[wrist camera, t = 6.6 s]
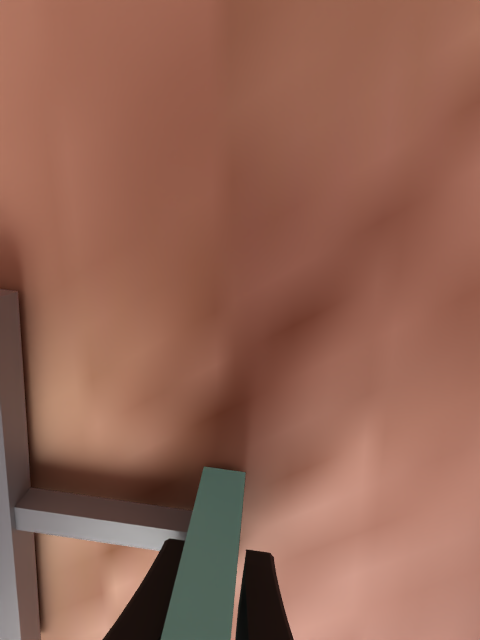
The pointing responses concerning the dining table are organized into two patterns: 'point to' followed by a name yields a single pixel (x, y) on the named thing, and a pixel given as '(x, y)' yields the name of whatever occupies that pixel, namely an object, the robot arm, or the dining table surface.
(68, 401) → the dining table surface
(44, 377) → the dining table surface
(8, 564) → the frame with teal handle
